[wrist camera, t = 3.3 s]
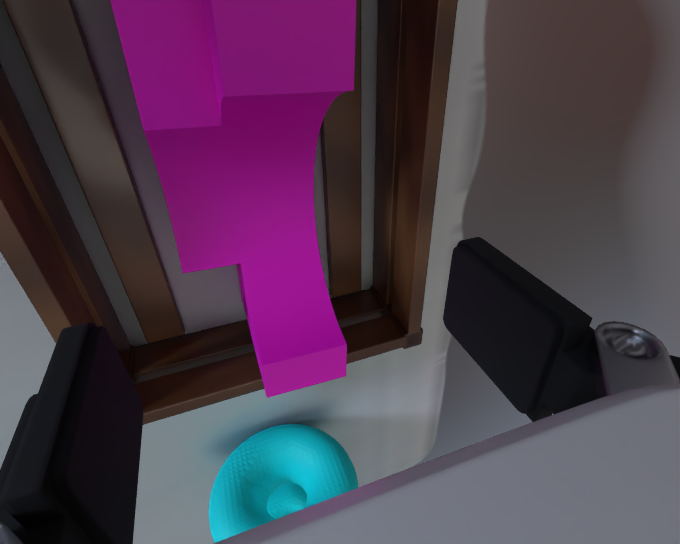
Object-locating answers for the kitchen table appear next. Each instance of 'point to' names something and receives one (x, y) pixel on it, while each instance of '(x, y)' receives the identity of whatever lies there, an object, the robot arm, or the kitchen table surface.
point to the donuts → (277, 478)
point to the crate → (135, 235)
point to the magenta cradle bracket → (247, 155)
